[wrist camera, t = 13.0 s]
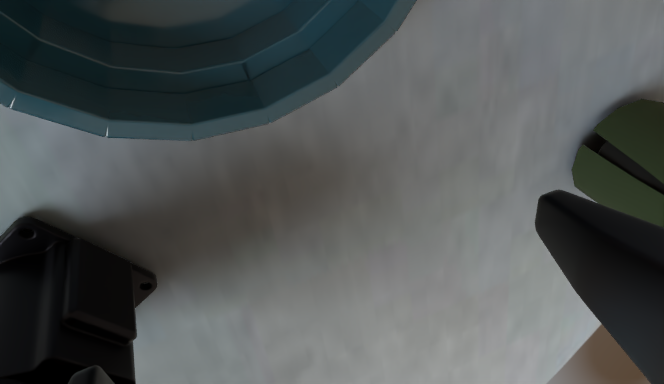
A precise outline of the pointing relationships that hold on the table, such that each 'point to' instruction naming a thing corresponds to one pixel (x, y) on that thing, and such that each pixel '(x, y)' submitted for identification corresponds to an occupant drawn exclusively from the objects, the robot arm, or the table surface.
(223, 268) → the table surface
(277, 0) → the bowl
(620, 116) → the character mug
